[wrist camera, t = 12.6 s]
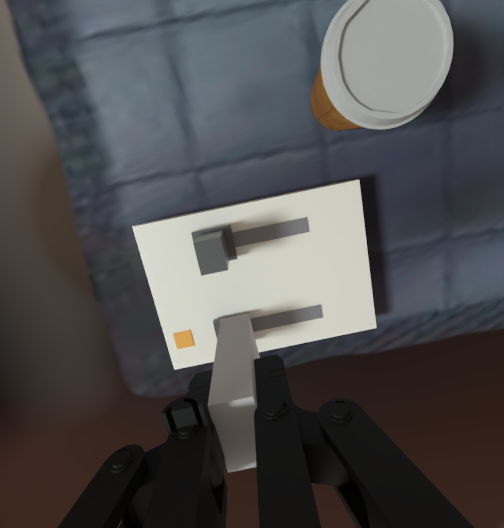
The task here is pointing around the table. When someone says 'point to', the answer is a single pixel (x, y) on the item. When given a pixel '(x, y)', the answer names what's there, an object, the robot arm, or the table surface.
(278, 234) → the panel
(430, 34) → the disposable coffee cup
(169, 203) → the table surface
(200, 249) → the block
